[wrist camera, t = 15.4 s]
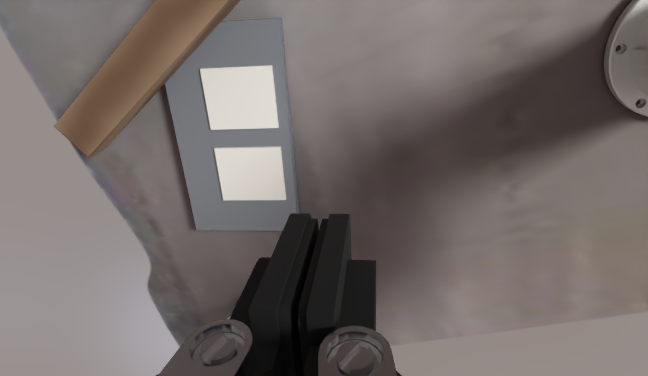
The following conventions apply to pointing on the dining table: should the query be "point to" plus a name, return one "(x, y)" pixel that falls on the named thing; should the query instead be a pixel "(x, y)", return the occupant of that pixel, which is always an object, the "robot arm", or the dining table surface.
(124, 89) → the swing bar
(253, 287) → the robot arm
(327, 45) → the dining table surface
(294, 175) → the label board
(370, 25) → the dining table surface
